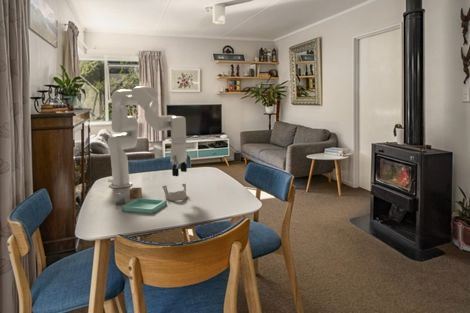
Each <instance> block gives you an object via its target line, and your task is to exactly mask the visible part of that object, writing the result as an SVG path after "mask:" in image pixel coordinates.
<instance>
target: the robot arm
mask: <svg viewBox="0 0 470 313" xmlns="http://www.w3.org/2000/svg"><path fill="white" fill-rule="evenodd" d="M157 99H158V92H157V89H155V88H154V87H153V86H143V85H141V86H135V87H133V88H132V89H118V90H114V91H113V93H112V94H111V101H110V102H111V107H112V112H111V130H112V132H114V133H115V134H113V135H110V136H109V137H108V139H107V146H108V148H109V156H110V163H111V164H110V165H111V176H112V178H111V177H110V178H108V179H107V182H108V183H110V184H109V185H110V187H111V188H113V189H123V188H124V189H125V188H128V187H131V186H132V185H133V182H132V181H130V173H129V162H128V160H129V159H128V155H127V153H126V152H125V150H128V149H134V148H135V147H136V146H137V144H138V136H139V134H138V133H139V122H138V119H137V118H136V117H135V116H132V115H128V114H129V112H128V111H129V110H128V107H127V106H139V107H140V108H141V109H142V110H143V111H144V112H143V113H144V118H145V121H146V123H147V124H148V125H149V126H150V127H151V128H152V129H153V130H155V131H157V132H161V131H170V141H171V142H170V143H171V146H170V165H171V166H170V167H171V170H172V172H171V173H172V177H179V175H180V174H179V173H180V172H182V173H187V170H188V167H187V166H188V165H187V164H188V162H187V161H188V153H187V145H186V144H187V123H186V119H187V118H186V117H185V116H180V115H179V116H177V115H172V114H170V115H169V114H168V115H166V114H165V115H157V113H156V111H157V110H158V108H159V105H160V104H159V102H158V100H157ZM117 133H118V134H117ZM179 165H180V172H179Z"/></svg>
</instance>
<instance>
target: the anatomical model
mask: <svg viewBox="0 0 470 313" xmlns="http://www.w3.org/2000/svg"><path fill="white" fill-rule="evenodd" d="M181 185H182V187H183V189H182V190H178V191H172V192H171V191H170V192H169V191H168V188H167V187H168V186H167V185H162V189H163V191H164V194H165V196H164V197H165V200H168V201H171V202H178V201H184V200H186V199H187V197H188V195H187V182H185V183H182V184H181Z"/></svg>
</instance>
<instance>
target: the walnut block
mask: <svg viewBox="0 0 470 313" xmlns="http://www.w3.org/2000/svg"><path fill="white" fill-rule="evenodd" d="M128 192H129V200H135V199H137V198H143V191H142V187H132V188H129V191H128Z"/></svg>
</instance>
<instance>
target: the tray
mask: <svg viewBox="0 0 470 313" xmlns="http://www.w3.org/2000/svg"><path fill="white" fill-rule="evenodd" d="M167 200H168V199H159V198H145V197H141V198H137V199H132V201H130V202H128V203H125V204H124V205H121V211H122V212H123V213H124V212H125V213H133V214H135V213H136V214H146V215H147V214H148V215H153V214H155V213H156V212H158V211H160V210H161V209H163V208H164V207H165V206H167V205H168V203H167V202H168V201H167Z"/></svg>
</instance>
